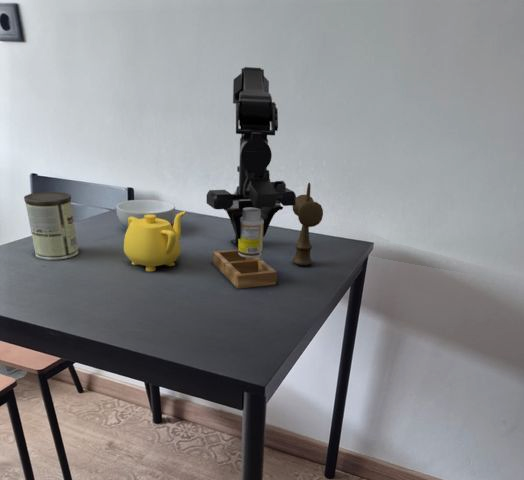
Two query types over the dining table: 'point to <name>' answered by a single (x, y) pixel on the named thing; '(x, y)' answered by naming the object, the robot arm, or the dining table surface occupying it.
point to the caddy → (244, 269)
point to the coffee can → (52, 225)
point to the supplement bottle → (251, 233)
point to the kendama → (306, 225)
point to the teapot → (153, 241)
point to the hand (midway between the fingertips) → (250, 237)
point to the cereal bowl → (145, 210)
